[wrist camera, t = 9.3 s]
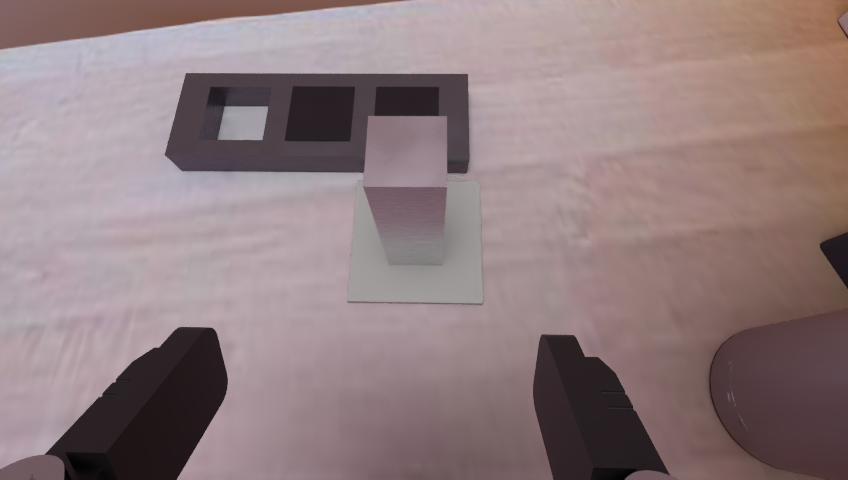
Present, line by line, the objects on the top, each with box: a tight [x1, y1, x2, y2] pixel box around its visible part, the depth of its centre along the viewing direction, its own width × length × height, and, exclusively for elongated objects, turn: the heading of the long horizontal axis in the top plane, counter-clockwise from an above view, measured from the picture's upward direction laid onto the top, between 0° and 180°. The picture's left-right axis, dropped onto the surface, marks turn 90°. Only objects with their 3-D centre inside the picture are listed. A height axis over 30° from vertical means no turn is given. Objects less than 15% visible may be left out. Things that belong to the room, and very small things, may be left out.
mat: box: [347, 181, 483, 304], centre depth 34 cm, size 10×10×1 cm
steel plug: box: [363, 116, 447, 266], centre depth 27 cm, size 4×4×13 cm
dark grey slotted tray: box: [165, 73, 469, 173], centre depth 36 cm, size 24×8×3 cm, turn 89°
